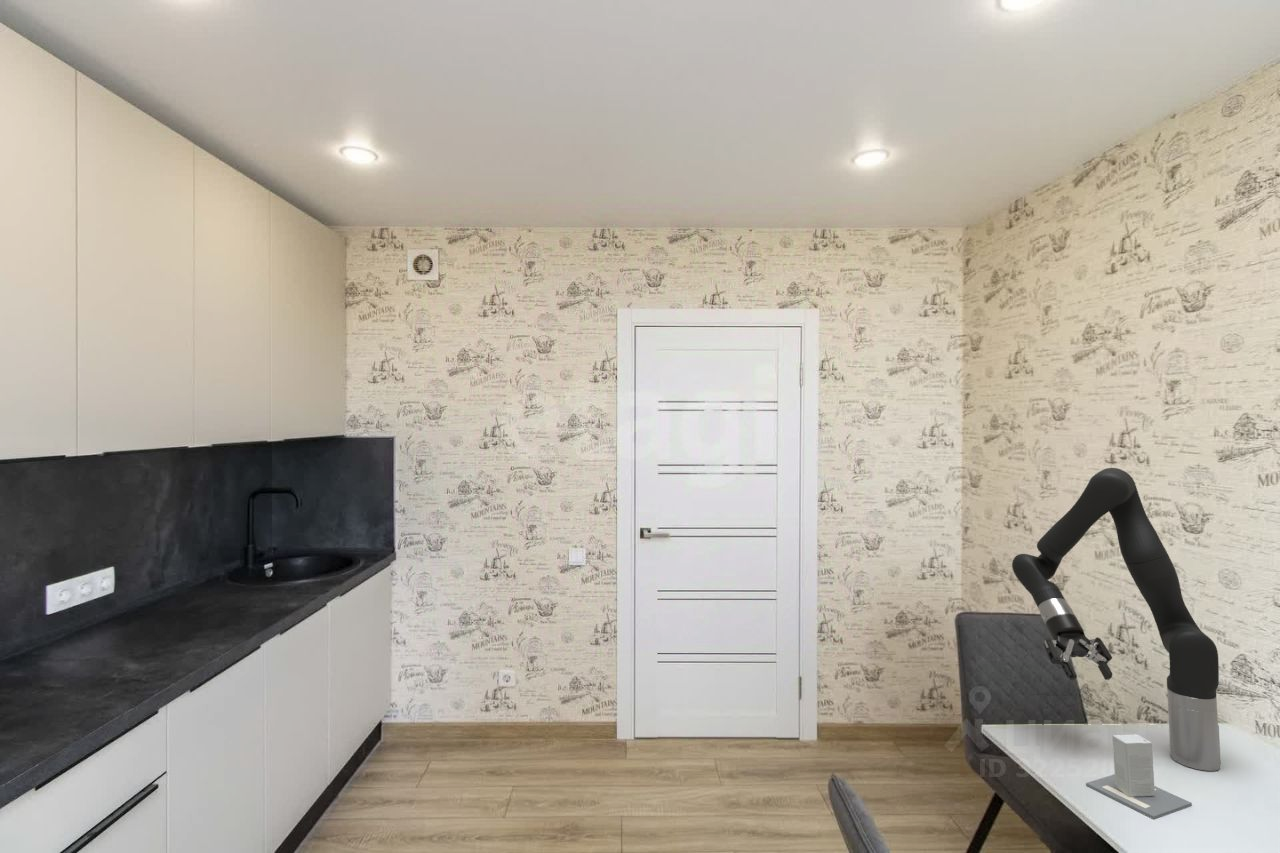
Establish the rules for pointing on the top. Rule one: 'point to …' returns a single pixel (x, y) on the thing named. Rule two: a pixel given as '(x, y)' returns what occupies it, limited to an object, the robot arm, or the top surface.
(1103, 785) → the letter card
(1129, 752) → the skincare box
